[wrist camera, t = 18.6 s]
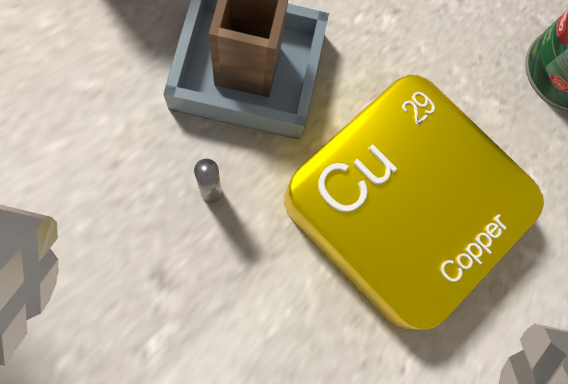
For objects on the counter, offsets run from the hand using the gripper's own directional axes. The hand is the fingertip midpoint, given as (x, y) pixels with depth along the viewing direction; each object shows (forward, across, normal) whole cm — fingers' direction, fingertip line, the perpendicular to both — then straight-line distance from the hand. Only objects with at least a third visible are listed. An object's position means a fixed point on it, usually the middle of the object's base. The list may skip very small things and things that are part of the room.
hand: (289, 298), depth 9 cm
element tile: (+30, -10, +15) cm, 35 cm away
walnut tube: (+35, +5, +8) cm, 37 cm away
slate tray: (+36, +5, +8) cm, 37 cm away
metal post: (+28, +5, +16) cm, 33 cm away
